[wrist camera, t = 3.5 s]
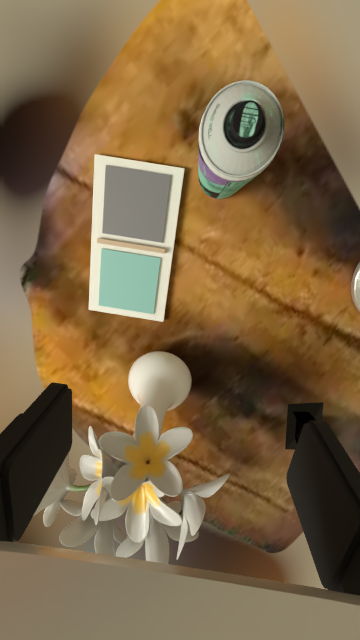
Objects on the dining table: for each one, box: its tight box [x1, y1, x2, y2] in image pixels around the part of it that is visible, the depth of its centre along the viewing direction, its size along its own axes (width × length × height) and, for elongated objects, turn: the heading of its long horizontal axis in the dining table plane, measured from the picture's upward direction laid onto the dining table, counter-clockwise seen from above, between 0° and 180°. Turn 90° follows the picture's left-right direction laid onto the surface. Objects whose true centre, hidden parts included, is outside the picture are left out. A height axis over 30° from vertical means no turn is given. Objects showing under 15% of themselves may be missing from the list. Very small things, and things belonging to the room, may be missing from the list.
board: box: [89, 154, 185, 322], centre depth 37 cm, size 11×20×2 cm, turn 172°
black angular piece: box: [285, 403, 323, 449], centre depth 44 cm, size 12×7×5 cm, turn 4°
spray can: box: [198, 80, 284, 199], centre depth 25 cm, size 6×6×20 cm
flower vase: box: [33, 351, 230, 564], centre depth 32 cm, size 13×18×25 cm
